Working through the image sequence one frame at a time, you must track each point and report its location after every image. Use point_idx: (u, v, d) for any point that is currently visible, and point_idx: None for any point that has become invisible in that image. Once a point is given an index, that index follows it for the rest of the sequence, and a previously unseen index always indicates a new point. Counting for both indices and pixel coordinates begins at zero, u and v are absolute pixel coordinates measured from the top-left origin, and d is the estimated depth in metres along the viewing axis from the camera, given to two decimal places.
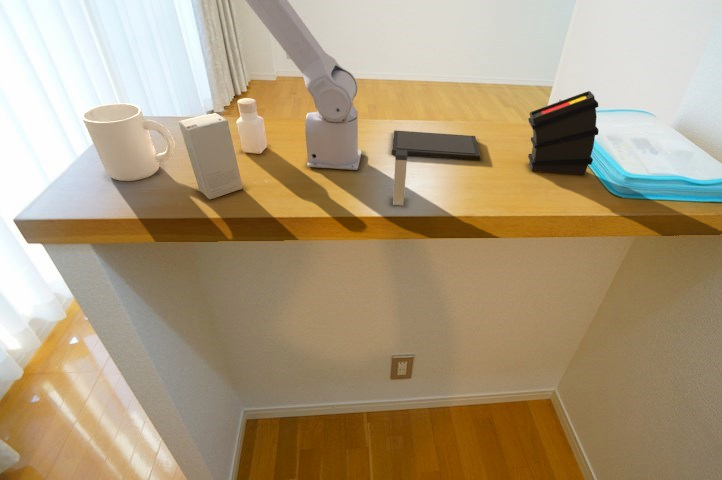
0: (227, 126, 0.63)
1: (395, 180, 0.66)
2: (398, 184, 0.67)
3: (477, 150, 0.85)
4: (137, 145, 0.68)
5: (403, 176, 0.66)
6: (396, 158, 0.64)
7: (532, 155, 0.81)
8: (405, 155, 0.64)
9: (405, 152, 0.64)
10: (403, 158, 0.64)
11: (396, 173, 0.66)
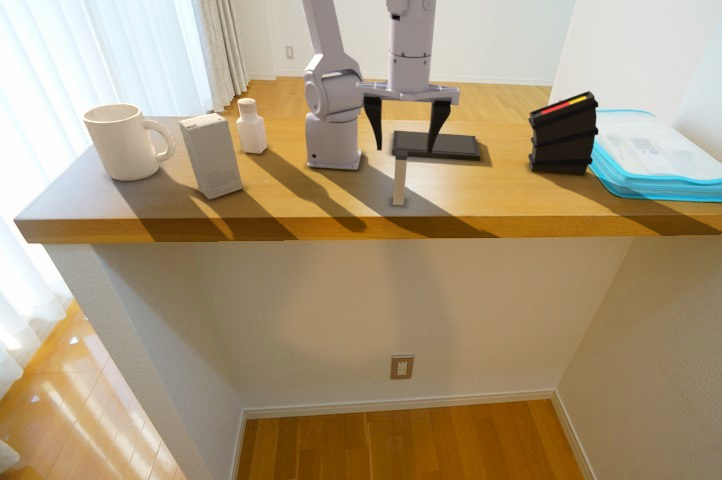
0: (227, 126, 0.63)
1: (395, 180, 0.66)
2: (398, 184, 0.67)
3: (477, 150, 0.85)
4: (137, 145, 0.68)
5: (403, 176, 0.66)
6: (396, 158, 0.64)
7: (532, 155, 0.81)
8: (405, 155, 0.64)
9: (405, 152, 0.64)
10: (403, 158, 0.64)
11: (396, 173, 0.66)
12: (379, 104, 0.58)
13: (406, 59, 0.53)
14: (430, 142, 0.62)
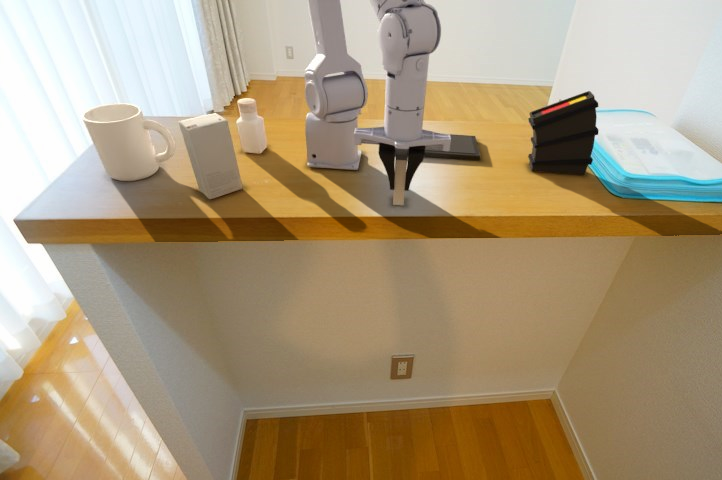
0: (227, 126, 0.63)
1: (395, 180, 0.66)
2: (398, 184, 0.67)
3: (477, 150, 0.85)
4: (137, 145, 0.68)
5: (403, 176, 0.66)
6: (396, 158, 0.64)
7: (532, 155, 0.81)
8: (405, 155, 0.64)
9: (406, 152, 0.64)
10: (403, 158, 0.64)
11: (396, 173, 0.66)
12: (393, 150, 0.63)
13: (400, 112, 0.57)
14: (406, 182, 0.66)
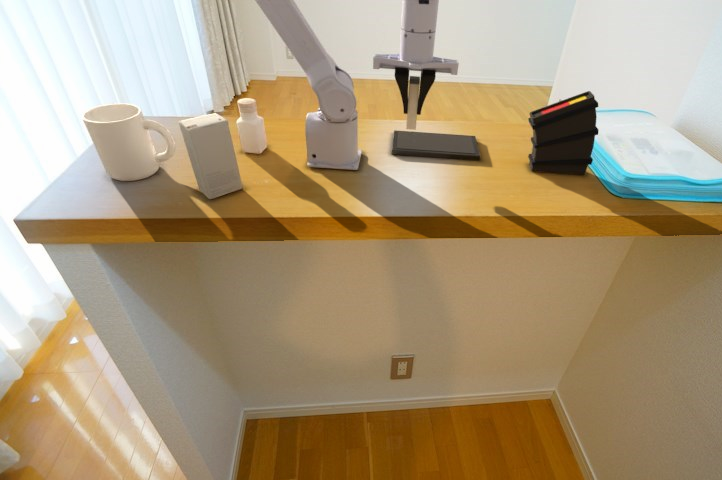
0: (227, 126, 0.63)
1: (408, 104, 0.75)
2: (411, 108, 0.75)
3: (477, 150, 0.85)
4: (137, 145, 0.68)
5: (416, 100, 0.74)
6: (410, 82, 0.72)
7: (532, 155, 0.81)
8: (418, 79, 0.72)
9: (418, 77, 0.73)
10: (416, 82, 0.72)
11: (410, 97, 0.74)
12: (407, 73, 0.71)
13: (414, 34, 0.66)
14: (419, 105, 0.74)
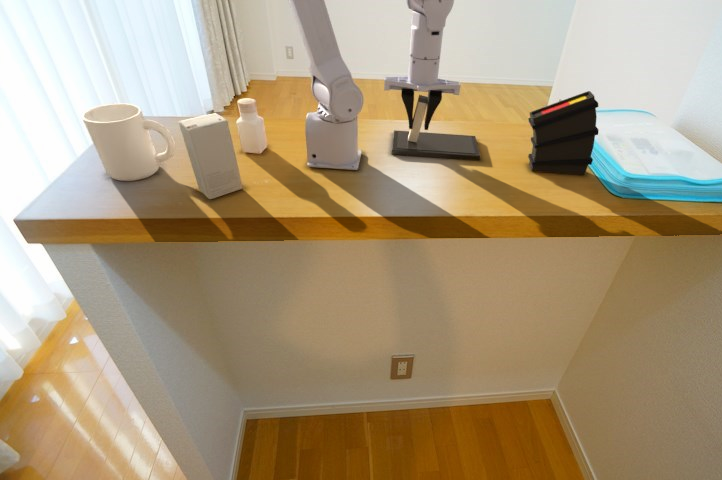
0: (227, 126, 0.63)
1: (414, 119, 0.83)
2: (416, 123, 0.84)
3: (477, 150, 0.85)
4: (137, 145, 0.68)
5: (421, 117, 0.83)
6: (419, 100, 0.81)
7: (532, 155, 0.81)
8: (427, 99, 0.81)
9: (427, 97, 0.81)
10: (425, 101, 0.81)
11: (416, 113, 0.82)
12: (412, 94, 0.80)
13: (422, 61, 0.74)
14: (426, 121, 0.83)
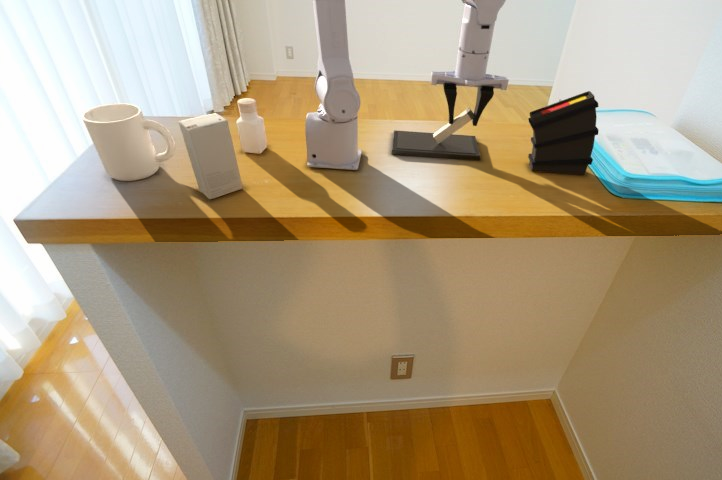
0: (227, 126, 0.63)
1: (452, 124, 0.84)
2: (451, 128, 0.84)
3: (477, 150, 0.85)
4: (137, 145, 0.68)
5: (459, 127, 0.84)
6: (468, 112, 0.82)
7: (532, 155, 0.81)
8: (474, 116, 0.83)
9: (473, 114, 0.83)
10: (471, 116, 0.83)
11: (457, 121, 0.83)
12: (455, 88, 0.79)
13: (472, 55, 0.73)
14: (476, 117, 0.82)
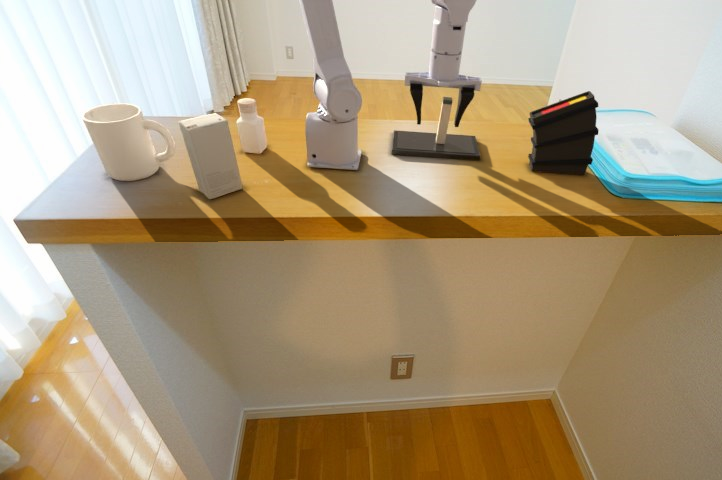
0: (227, 126, 0.63)
1: (440, 121, 0.83)
2: (442, 125, 0.84)
3: (477, 150, 0.85)
4: (137, 145, 0.68)
5: (447, 118, 0.83)
6: (443, 102, 0.81)
7: (532, 155, 0.81)
8: (451, 100, 0.81)
9: (451, 98, 0.81)
10: (449, 102, 0.81)
11: (442, 115, 0.83)
12: (421, 89, 0.79)
13: (444, 56, 0.74)
14: (457, 119, 0.82)
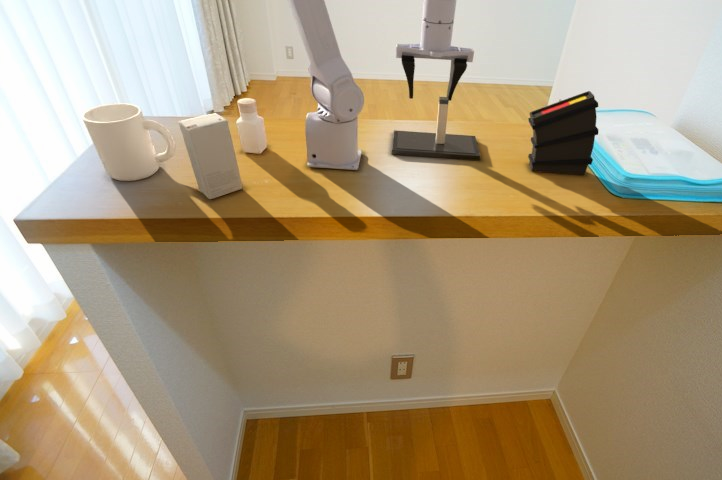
0: (227, 126, 0.63)
1: (438, 122, 0.84)
2: (441, 125, 0.84)
3: (477, 150, 0.85)
4: (137, 145, 0.68)
5: (445, 118, 0.83)
6: (440, 102, 0.81)
7: (532, 155, 0.81)
8: (447, 100, 0.81)
9: (447, 98, 0.81)
10: (445, 102, 0.81)
11: (439, 115, 0.83)
12: (413, 61, 0.78)
13: (436, 25, 0.72)
14: (450, 91, 0.81)
